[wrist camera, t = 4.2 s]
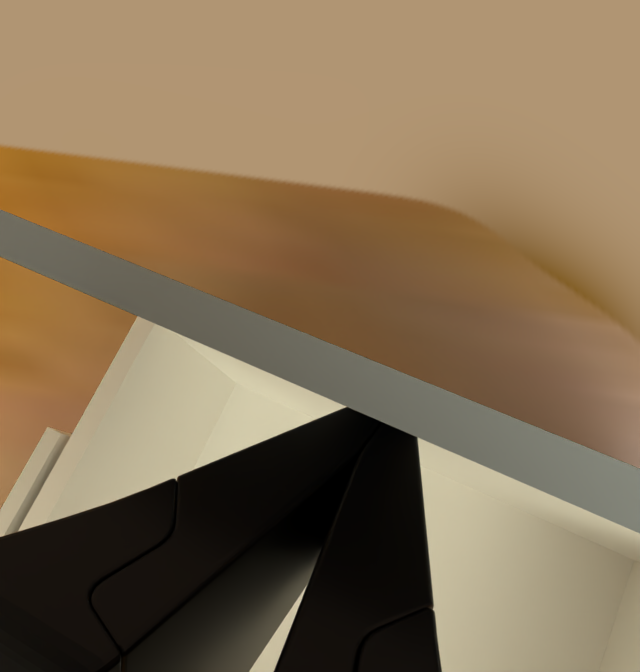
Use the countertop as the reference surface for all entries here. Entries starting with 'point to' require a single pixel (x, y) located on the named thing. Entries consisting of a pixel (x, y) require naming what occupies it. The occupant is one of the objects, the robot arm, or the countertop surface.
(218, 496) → the robot arm
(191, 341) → the carton
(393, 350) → the countertop surface
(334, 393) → the far flap
